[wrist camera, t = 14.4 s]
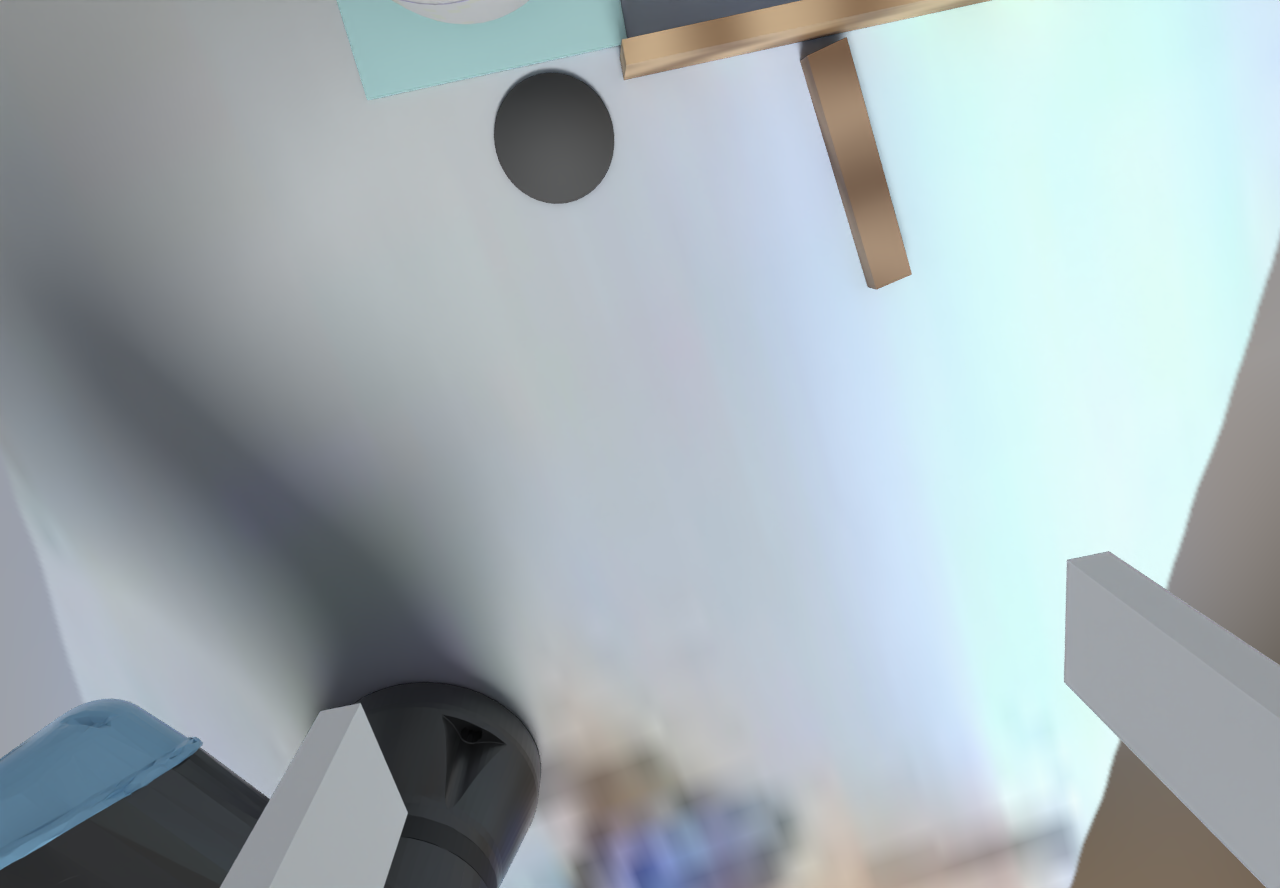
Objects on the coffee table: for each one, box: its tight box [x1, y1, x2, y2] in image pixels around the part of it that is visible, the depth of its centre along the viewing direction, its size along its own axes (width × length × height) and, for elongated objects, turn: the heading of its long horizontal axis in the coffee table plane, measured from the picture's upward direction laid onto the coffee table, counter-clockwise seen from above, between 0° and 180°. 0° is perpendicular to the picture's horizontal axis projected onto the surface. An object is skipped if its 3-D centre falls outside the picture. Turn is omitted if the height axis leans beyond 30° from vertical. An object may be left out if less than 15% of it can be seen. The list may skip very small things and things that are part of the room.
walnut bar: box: [800, 37, 912, 289], centre depth 34 cm, size 12×2×2 cm, turn 23°
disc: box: [494, 73, 614, 204], centre depth 33 cm, size 6×6×1 cm
